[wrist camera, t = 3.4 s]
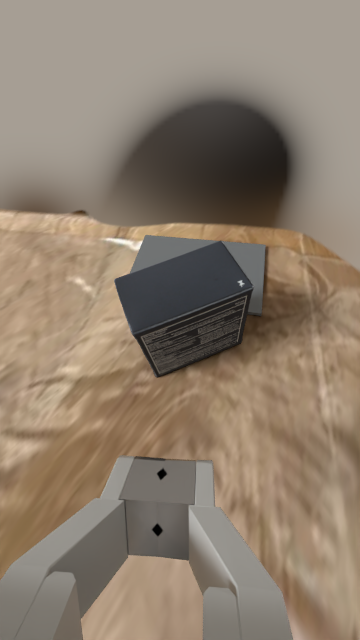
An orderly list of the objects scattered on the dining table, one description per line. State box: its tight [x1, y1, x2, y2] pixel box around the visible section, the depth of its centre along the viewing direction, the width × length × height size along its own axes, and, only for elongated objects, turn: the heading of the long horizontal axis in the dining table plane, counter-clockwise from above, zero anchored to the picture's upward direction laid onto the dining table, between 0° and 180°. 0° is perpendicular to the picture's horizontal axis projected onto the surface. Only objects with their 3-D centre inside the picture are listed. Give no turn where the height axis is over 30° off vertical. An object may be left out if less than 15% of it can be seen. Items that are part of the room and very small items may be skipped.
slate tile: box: [130, 235, 265, 316], centre depth 36 cm, size 12×18×1 cm, turn 78°
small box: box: [114, 241, 254, 377], centre depth 26 cm, size 11×6×10 cm, turn 111°
